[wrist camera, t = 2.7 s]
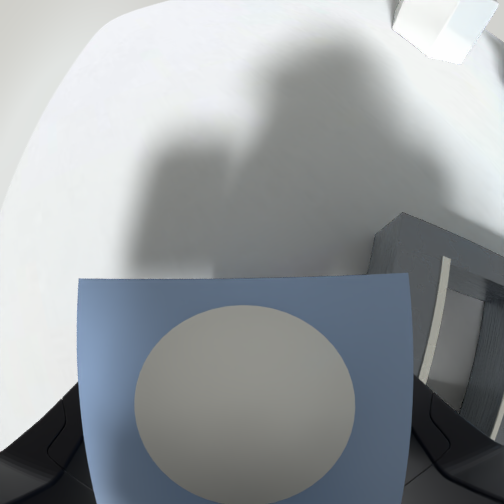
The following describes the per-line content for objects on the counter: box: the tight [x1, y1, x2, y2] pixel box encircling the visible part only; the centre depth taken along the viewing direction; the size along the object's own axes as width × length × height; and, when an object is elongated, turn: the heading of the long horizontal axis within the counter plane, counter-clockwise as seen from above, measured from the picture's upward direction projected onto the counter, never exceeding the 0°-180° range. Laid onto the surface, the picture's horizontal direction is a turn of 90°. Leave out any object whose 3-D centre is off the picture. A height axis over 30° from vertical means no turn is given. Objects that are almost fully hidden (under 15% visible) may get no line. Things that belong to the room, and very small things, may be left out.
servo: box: [77, 273, 413, 504], centre depth 9 cm, size 7×4×13 cm, turn 1°
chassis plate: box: [367, 212, 504, 445], centre depth 12 cm, size 22×12×4 cm, turn 162°
